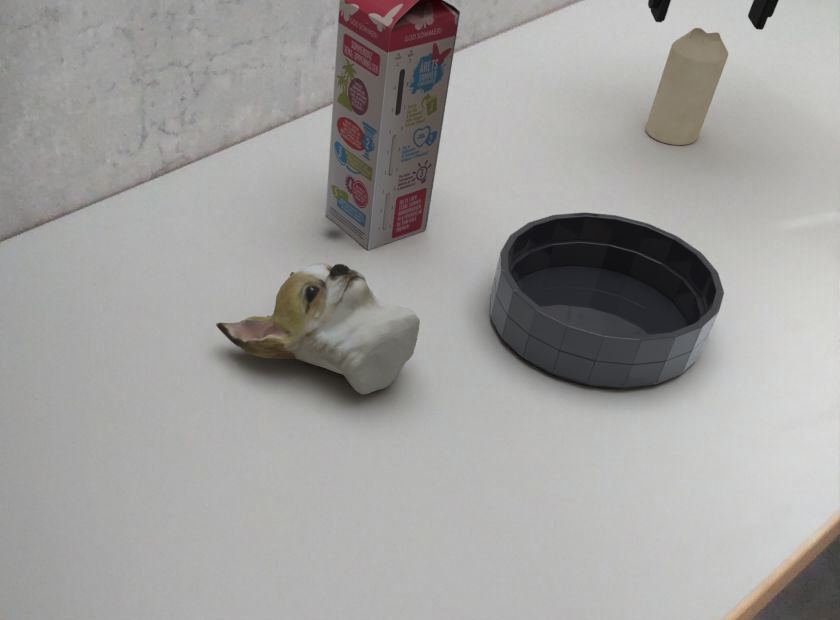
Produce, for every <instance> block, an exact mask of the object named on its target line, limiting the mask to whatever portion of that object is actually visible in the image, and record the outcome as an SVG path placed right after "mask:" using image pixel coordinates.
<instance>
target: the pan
mask: <svg viewBox="0 0 840 620" xmlns="http://www.w3.org/2000/svg"><path fill="white" fill-rule="evenodd" d="M721 280H722V279H721V278H720V275H719V272H718V271H717V269H716V268H715V267H714V266H713V264H712V263H711V262H710V261H709V260H708V259H707V257H706V256H705V255H704V254H703V253H702V252H701V251H699V250H698V249H697V248H695V247H694V246H693V245H691V244H690V243H689V242H687V241H685V240H684V239H682V237H679V236H678V235H675V234H674V233H671V232H669V231H666V230H664V229H662V228H659V227H657V226H655V225H652V224H651V223H647V222H644V221H639V220H636V219H631V218H628V217H624V216H621V215H616V214H606V213H594V212H573V213H560V214H552V215H548V216H545V217H542V218H539V219H535V220H532V221H528V222H527V223H525V224H524V225H523V226H521V227H520V228H518V229H517V230H516V231H514V232H513V233H511V234H510V235H508V238H507V240H506V241H505V243H504V245H503V246H502V248H501V250H500V252H499V257H498V261H497V266H496V271H495V275H494V279H493V284H492V288H491V292H490V297H489V307H490V309H489V310H490V319H491V321H492V323H493V325H494V327H495V329H496V330H497V333H498V334H499V337H500V338H501V339H502V341H504V342H505V343H506V345H507V346H509V348H511V349H512V350H513V352H515V353H516V354H517V355H518V356H520V357H521V358H522V359H523V360H525V361H526V362H528V363H529V364H530V365H532V366H534V367H536V368H538V369H539V370H541V371H543V372H545V373H548V374H550V375H552V376H554V377H557V378H560V379H561V380H562V379H563V380H566V381H569V382H572V383H576V384H580V385H584V386H588V387H589V386H590V387H595V388H603V389H636V388H642V387H647V386H652V385H653V386H654V385H657V384H660V383H662V382H665V381H668V380H670V379H673V378H675V377H677V376H680V375H682V374H683V373H685V371H686V370H687V369H689V368H690V367H691V366H692V365H693V364H694V363H695V362H696V361H697V360H698V359H699V357H700V355H701V353H702V351H703V348H704V347H705V344H706V342H707V340H708V337H709V335H710V333H711V330H712V328H713V326H714V324H715V322H716V319H717V317H718V316H719V312H720V311H721V307H722V303H723V299H724V295H725V291H724V288H723V284H722V281H721Z"/></svg>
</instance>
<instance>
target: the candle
mask: <svg viewBox="0 0 840 620" xmlns="http://www.w3.org/2000/svg"><path fill="white" fill-rule="evenodd" d="M728 57H729V51H728V49H727V47H726V45H725V43H724V41H723V39H722V38H721V34H720V32H716V31H715V32H706V31H705V30H704V29H702V28H701V27H695V28H692V30H690V31H689V32H687V33H685V34H684V35H682V36H681V37H679V38H677V39H676V40H675V41H673V42H672V44H671V46H670V50H669V52H668V55H667V59H666V62H665V65H664V68H663V70H662V75H661V77H660V80H659V84H658V87H657V90H656V92H655V96H654V99H653V103H652V105H651V108H650V112H649V114H648V117H647V122H646V125H645V131H646V133H647V135H649V136H650V137H651V138H653V139H654V140H656V141H658V142H661V143H663V144H667V145H673V146H686V145H690V144H693V143H695V142H696V141H697V139H698V138H699V136H700V133H701V131H702V128H703V125H704V123H705V120H706V117H707V115H708V112H709V109H710V106H711V104H712V101H713V98H714V95H715V92H716V90H717V87H718V85H719V82H720V79H721V76H722V73H723V71H724V68H725V66H726V63H727V60H728Z"/></svg>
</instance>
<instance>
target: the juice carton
mask: <svg viewBox="0 0 840 620" xmlns="http://www.w3.org/2000/svg"><path fill="white" fill-rule="evenodd" d="M460 15H461V11H460V10H459V9H458V8H457V7H456V6H454V5H453V4H451V3H449V2H448V1H445V0H339V5H338V19H337V35H336V50H335V64H334V65H335V66H334V79H333V81H334V82H333V95H332V109H331V125H330V126H331V127H330V137H329V138H330V141H329V155H328V156H329V157H328V171H327V185H326V200H325V217H326V218H328V219H329V220H330V221H332V222H333V223H334V224H335V225H337V226H338V228H340V229H341V230H342V231H344V233H345V234H347V235H348V236H350V237H351V238H352V239H353V240H354V241H355V242H357V243H358V244H359V245H360V246H362V247H363V248H364V249H365V250H366V251H370V250H373V249H375V248H379V247H381V246H384V245H387V244H391V243H393V242H396V241H399V240H401V239H405V238H408V237H411V236H413V235H417V234H419V233H422V232H424V231H426V230H427V227H428V222H429V221H428V220H429V214H430V210H431V209H430V207H431V201H432V195H433V189H434V182H435V177H436V176H435V175H436V170H437V163H438V157H439V150H440V143H441V137H442V130H443V125H444V118H445V113H446V112H445V111H446V104H447V99H448V92H449V86H450V80H451V72H452V67H453V59H454V53H455V47H456V40H457V33H458V28H459V21H460Z"/></svg>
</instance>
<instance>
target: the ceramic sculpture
mask: <svg viewBox="0 0 840 620" xmlns="http://www.w3.org/2000/svg"><path fill="white" fill-rule="evenodd" d="M420 324H421V322H420V318H419V317H418V316H417V314H416V313H415V312H414V309H412V308H410V307H403V306H396V305H391V304H388V303H385V302H384V301H381V300H380V299H378V297H377V296H376V295H375V294H374V293H373V291H372V290H371V289H370V287H369V285H368V283H367V280H366V277H365V276H364V275H363V274H362V273H361V272H359V271H357V270H355V269H352V268H350V267H349V266H348V265H345V264H343V263H337V264H334V265H333V266H332V265H330V264H327V263H314V264H312V265H311V264H310V265H308V266H306V267H304V268H301V269H299V270H297V271H296V272H294V271H291V272H290V274H289V277H288V278H287V279H286V280H285V281H284V282H283V284H282V285H280V287H279V290H278V291H277V294H276V297H275V305H274V309H273V313H272V314H271V315H266V316H258V315H257V316H248V317H246V318H245V319H243V320H240V321H238V322H217V323H215V326H216V327H217V328H218V330H219V331H220V332H221V334H223V335H224V337H226V338H227V339H228V340H229V341H230V342H231V343H232V344H233V345H235V346H236V347H238V348H240V349H241V350H242V351H245V352H246V353H248V354H249V355H251V356H254V357H257V358H262V359H286V360H290V359H296V360H298V361H302V362H305V363H307V364H311V365H313V366H316V367H320V368H324V369H326V370H329V371H331V372H334V373H336V374H341V375H343V376H344V378H345V379H346V381H347V382H348V384H350V386H351V387H352V388H353V390H354V391H356V392H357V393H358V394H360V395H364V396H365V395H368V394H371V393H373V392H376V391H380V390H384V389H386V388H387V387H389V386H390V385H392V383H394V381H395V380H396V378H397V376H398V375H399V374H400V372H401V371H402V369H403V367H404V366H405V364H406V363H407V362H409V360H410V359H411V357H413V355H414V353H415V348H416V345H417V342H418V335H419V331H420Z"/></svg>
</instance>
